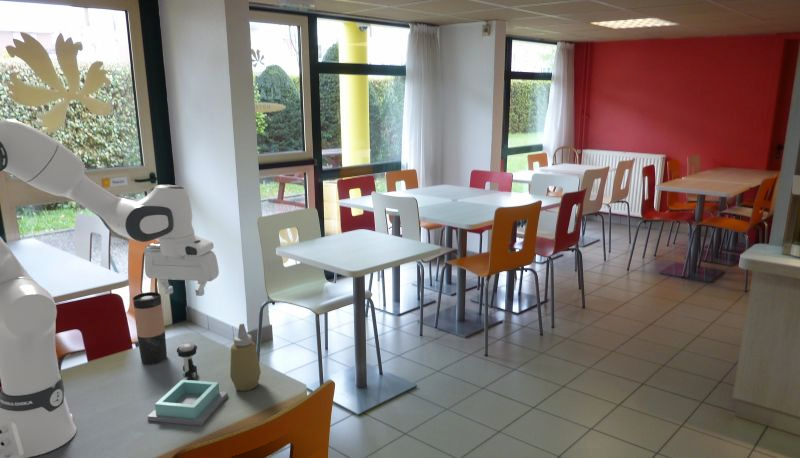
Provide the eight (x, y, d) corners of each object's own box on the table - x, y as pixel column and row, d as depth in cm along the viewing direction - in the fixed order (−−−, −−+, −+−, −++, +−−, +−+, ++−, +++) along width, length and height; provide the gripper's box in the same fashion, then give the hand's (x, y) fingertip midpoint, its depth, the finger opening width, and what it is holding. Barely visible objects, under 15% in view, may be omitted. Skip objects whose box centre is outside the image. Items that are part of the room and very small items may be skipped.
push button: (194, 385, 158) (190, 351, 156) (174, 385, 158) (171, 351, 156) (202, 373, 164) (199, 341, 162) (184, 373, 164) (180, 341, 162)
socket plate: (148, 420, 141) (146, 405, 140) (178, 391, 154) (177, 377, 153) (201, 425, 139) (199, 409, 138) (227, 396, 152) (226, 381, 151)
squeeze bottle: (243, 396, 152) (238, 333, 147) (224, 387, 156) (219, 325, 152) (267, 384, 158) (263, 323, 154) (248, 376, 163) (244, 316, 158)
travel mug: (172, 353, 177) (165, 292, 172) (159, 365, 170) (152, 301, 165) (148, 353, 178) (141, 291, 173) (135, 364, 170) (127, 300, 166)
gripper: (135, 247, 151) (143, 296, 155) (205, 249, 146) (211, 300, 150) (151, 240, 157) (158, 288, 160) (218, 243, 152) (224, 292, 156)
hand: (184, 294), depth 155 cm, fingers open, 8 cm apart
